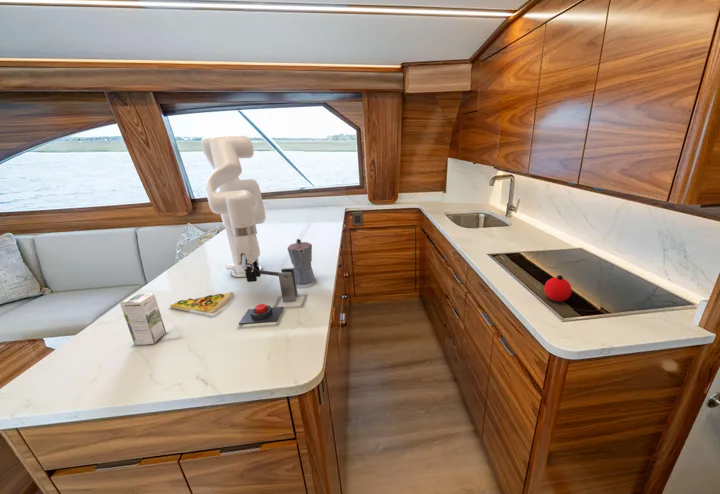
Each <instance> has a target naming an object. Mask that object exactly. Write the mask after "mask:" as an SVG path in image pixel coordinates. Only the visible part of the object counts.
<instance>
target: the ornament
mask: <svg viewBox="0 0 720 494" xmlns="http://www.w3.org/2000/svg"><path fill="white" fill-rule="evenodd" d="M543 287H544V288H543V291H544V294H545V296H546V297H547V298H548V299H549V300H551V301H553V302H557V303H558V302H559V303H560V302H561V303H562V302H565V301H567V300H568V299H569V298H570V297H571V296H572V293H573V289H572V285H571V284H570V282H569V281H568V280H567V279H565V278H564V275H561V274H559V275H557V276H555V277H551V278H550V279H547V281H546V282H545V284H544V286H543Z"/></svg>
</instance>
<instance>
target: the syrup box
mask: <svg viewBox="0 0 720 494" xmlns="http://www.w3.org/2000/svg"><path fill="white" fill-rule="evenodd" d="M119 305H120V308H121V312H122V313H123V317H124V319H125V322H126V325H127V328H128V330H129V333H130V336H131V338H132V341H133V345H134V346H142V345H143V346H145V345H155V344H156V343H157V342H158V341H159V340H161V339H162V337H163V336H165V335H166V334H167V330H166V327H165V325H164V321H163V317H162V314H161V311H160V308H159V304H158V302H157V297H156V294H155V293H147V292H146V293H143V292H142V293H135V294H133V295H132V296H129V297H128V298H126V299H125V300H123V301H122V302H120V304H119Z"/></svg>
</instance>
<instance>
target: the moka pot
mask: <svg viewBox="0 0 720 494" xmlns="http://www.w3.org/2000/svg"><path fill="white" fill-rule="evenodd" d="M287 252H288V255H289V259H290V261H291V265H293V268H294V272H295V279H296V285H298V286H306V285H309V284H312V283H314V281H316V278H315V277H316V276H315V273H314V270H313V267H312V259H313V244H312V243H310V242H307V241H302V240H301V239H299V238H297V239H296V241H295V243H291V244H289V245H288V246H287Z"/></svg>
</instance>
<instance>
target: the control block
mask: <svg viewBox="0 0 720 494" xmlns="http://www.w3.org/2000/svg"><path fill="white" fill-rule="evenodd" d="M265 305H266V307H267V311H266V312H264V313H258V314H257V313H255V307H253V308H248V309H247V310H246V312H245V313H244V315H243V317H241V319H240V321H239V322H238V325H239V326H242V325H252V324H253V325H254V324H255V325H256V324H267V323H277V322H278V321H279V318H280V317H281V314H282V313H283V312H282V311H283V310H284V306H275V307H272V306H271V305H268V304H265Z"/></svg>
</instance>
